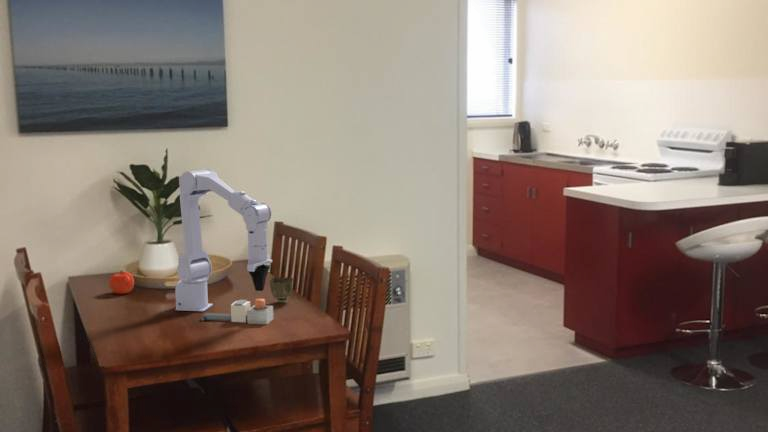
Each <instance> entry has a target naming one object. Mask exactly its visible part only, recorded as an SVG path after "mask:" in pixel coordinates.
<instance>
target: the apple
mask: <svg viewBox="0 0 768 432" xmlns="http://www.w3.org/2000/svg"><path fill="white" fill-rule="evenodd" d="M108 284H109V288H110V289H111V291H112V292H113V293H114V294H117V295H124V294H129V293H130V292H131V291H132V290H133V289H134V287H135V286H134V285H135V279H134V276H133V274H131V273H130V272H127V271H124V272H123V271H122V270H120V273H115V274H113V275H111V277H110V278H109V282H108Z"/></svg>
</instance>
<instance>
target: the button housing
mask: <svg viewBox="0 0 768 432" xmlns="http://www.w3.org/2000/svg"><path fill="white" fill-rule="evenodd" d="M273 320H274V305H265V308H255V304H254V305H251V306H250V308H249V309H248V310H247V321H248V322H247V324H251V325H253V324H254V325H269V324H270V322H271V321H273Z"/></svg>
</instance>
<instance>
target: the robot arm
mask: <svg viewBox="0 0 768 432" xmlns="http://www.w3.org/2000/svg"><path fill="white" fill-rule="evenodd" d="M178 183H179V202H180V203H179V204H180V215H181V216H180V217H181V224H182V225H181V227H182V235H183V245H184V251H183V252H182V253H181V254H180V256H179V257H178V259H177V261H178V265H177V272H176V273H177V275H178V278H179V280H178V281H177V282H176V284H175V291H174V292H175V311H183V312H185V311H186V312H187V311H188V312H205V311H206V310H208V309H209V308H211V307H212V306H213V303H209V297H208V296H209V294H208V280H209V278H210V276H211V274H212V273H213V266H212V262H211V260H210V254H209V252H207V251H206V250H205V249H203V240H202V231H201V229H202V227H201V219H200V218H201V217H200V208H199V207H200V206H199V199H201V197H202V196H203V195H204V194H206V193H207V192H209V191H212V193H215V194H216V195H218V196H220V197H221V198H223V199H224V200H226V201H227V204H228V207H230V208H231V209H232V210H234V211H235V212H236V213H238V214H239V215H241V216H242V218H243V219H242V220H243V221H244V223H245V227H246V228H245V229H246V231H247V249H248V260H247V265H246V267H247V270H246V272H248V273H249V275H250V277H251V280H252V282H253V287H254V290H255V292H256V291H257V292H263V291H264V289H265V285H266V279H267V275H268V272H269V270H270V269H271V267H270V266H271V265H270V264H272V263H273V259H272V258H271V259H270V254H269V241H268V239H269V238H268V234H269V233H268V223H269V222H270V220H271V217H272V211H271V208H270V207H269V205H268V204H267V203H265V202H261V203H260V202H257V200H256V199H253V198H251V197H250V196H249V195H247V192H246V191H244V190H237V191H236V190H234V189H233V188H232V187H230V186H229V185H228V184H227V183H225V182H224V181H223V180H222V179H221V178H219V176H218V173H217V172H214V171H213V169H211V168H206V169H200V170H191V171H189V170H188V171H184V172H183V173H182V174H181V176H180V177H178Z"/></svg>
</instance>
